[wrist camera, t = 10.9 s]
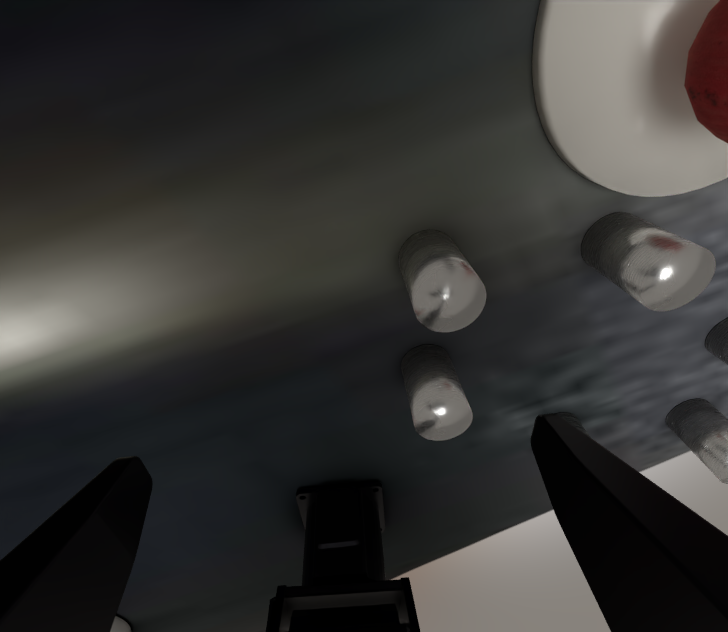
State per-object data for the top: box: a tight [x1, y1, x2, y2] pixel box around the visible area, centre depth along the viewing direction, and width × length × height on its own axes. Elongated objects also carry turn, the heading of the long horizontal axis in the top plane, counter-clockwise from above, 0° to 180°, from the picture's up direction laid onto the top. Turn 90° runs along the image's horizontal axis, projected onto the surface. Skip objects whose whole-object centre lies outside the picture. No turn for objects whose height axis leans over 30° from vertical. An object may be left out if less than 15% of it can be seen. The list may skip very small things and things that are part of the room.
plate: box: [532, 0, 728, 197], centre depth 14 cm, size 13×13×1 cm
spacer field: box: [398, 212, 728, 484], centre depth 21 cm, size 17×22×4 cm
